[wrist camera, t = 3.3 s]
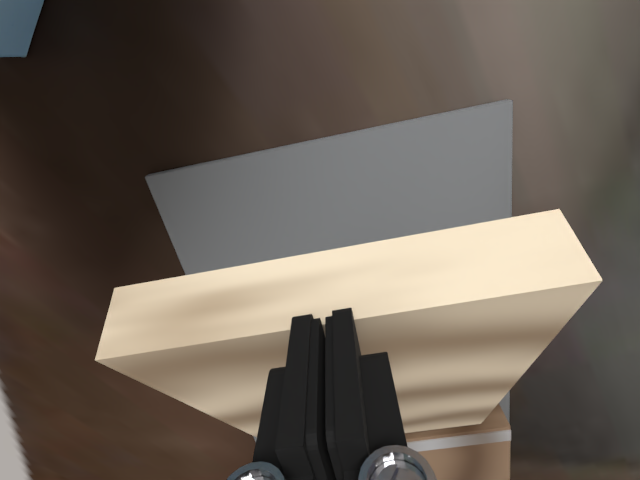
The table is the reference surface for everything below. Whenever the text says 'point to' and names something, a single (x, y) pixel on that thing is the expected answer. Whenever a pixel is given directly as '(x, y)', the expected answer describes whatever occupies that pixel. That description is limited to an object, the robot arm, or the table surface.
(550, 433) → the table surface
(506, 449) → the walnut board
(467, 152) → the underlay mat
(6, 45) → the gum box
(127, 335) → the oak plank
